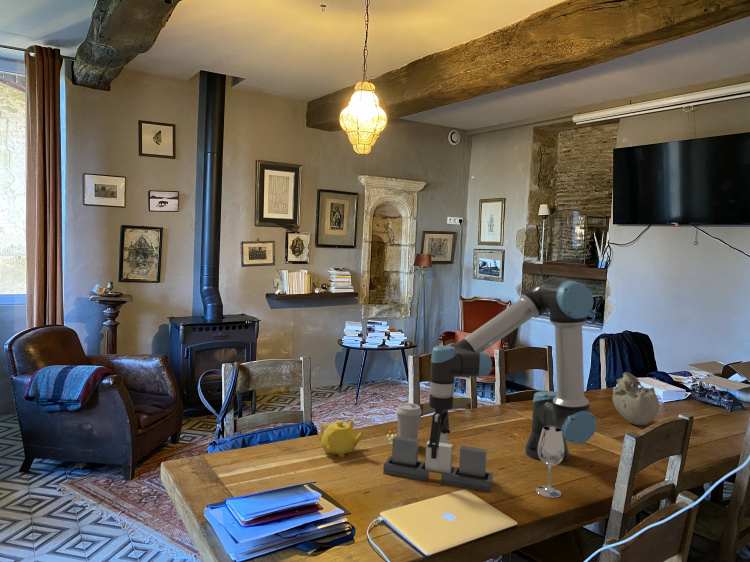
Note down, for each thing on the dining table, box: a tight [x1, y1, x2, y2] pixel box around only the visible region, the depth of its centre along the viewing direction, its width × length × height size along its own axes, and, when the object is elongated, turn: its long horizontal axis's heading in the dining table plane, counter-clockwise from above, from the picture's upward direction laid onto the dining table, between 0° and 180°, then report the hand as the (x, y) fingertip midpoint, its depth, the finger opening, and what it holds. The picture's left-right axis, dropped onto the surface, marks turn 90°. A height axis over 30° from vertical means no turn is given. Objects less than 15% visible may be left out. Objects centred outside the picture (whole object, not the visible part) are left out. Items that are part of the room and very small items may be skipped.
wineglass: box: [535, 426, 564, 499], centre depth 170 cm, size 8×8×20 cm
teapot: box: [318, 420, 366, 458], centre depth 196 cm, size 14×14×11 cm
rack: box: [382, 435, 494, 493], centre depth 177 cm, size 34×10×11 cm, turn 72°
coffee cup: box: [395, 402, 423, 439], centre depth 205 cm, size 10×10×15 cm
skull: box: [612, 371, 661, 426], centre depth 244 cm, size 20×15×22 cm
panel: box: [424, 440, 454, 474], centre depth 178 cm, size 8×3×10 cm, turn 71°
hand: (438, 460), depth 178 cm, fingers open, 13 cm apart
